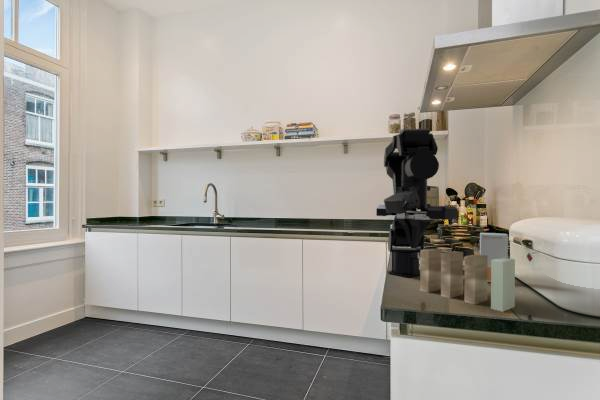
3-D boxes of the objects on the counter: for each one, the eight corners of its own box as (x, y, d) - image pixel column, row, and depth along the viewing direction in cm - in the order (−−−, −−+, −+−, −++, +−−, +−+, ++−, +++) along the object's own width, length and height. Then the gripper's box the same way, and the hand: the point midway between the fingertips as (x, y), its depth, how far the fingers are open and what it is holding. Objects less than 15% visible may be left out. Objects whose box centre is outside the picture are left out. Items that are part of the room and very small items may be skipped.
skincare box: (479, 281, 82) (479, 233, 82) (479, 278, 86) (479, 232, 86) (508, 284, 79) (508, 234, 79) (506, 281, 83) (507, 233, 83)
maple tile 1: (420, 290, 73) (420, 250, 73) (433, 287, 76) (433, 248, 76) (428, 292, 71) (428, 251, 72) (441, 289, 74) (441, 249, 74)
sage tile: (514, 306, 62) (514, 259, 62) (502, 311, 59) (502, 261, 59) (503, 304, 64) (503, 257, 64) (490, 308, 61) (491, 260, 61)
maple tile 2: (440, 295, 69) (441, 253, 69) (453, 292, 72) (454, 251, 72) (450, 298, 67) (450, 254, 67) (462, 294, 70) (463, 252, 70)
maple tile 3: (464, 301, 65) (464, 256, 65) (477, 297, 68) (477, 254, 68) (474, 304, 63) (474, 257, 63) (487, 300, 66) (487, 255, 66)
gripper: (361, 182, 81) (360, 246, 81) (429, 178, 65) (429, 257, 65) (391, 183, 87) (390, 242, 87) (459, 180, 72) (459, 252, 72)
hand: (413, 248), depth 78 cm, fingers closed
